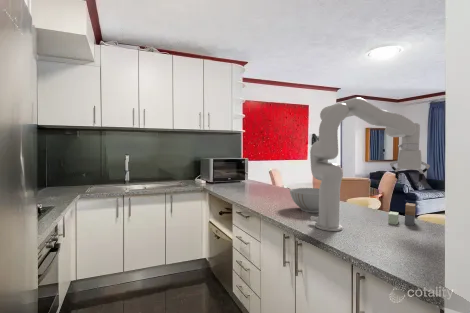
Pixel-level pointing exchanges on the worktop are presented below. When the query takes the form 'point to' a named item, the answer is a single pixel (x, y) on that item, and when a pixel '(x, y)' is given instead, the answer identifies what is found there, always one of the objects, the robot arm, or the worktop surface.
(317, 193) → the decorative bowl
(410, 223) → the charcoal brick
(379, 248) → the worktop surface
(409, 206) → the walnut brick
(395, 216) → the sage brick
